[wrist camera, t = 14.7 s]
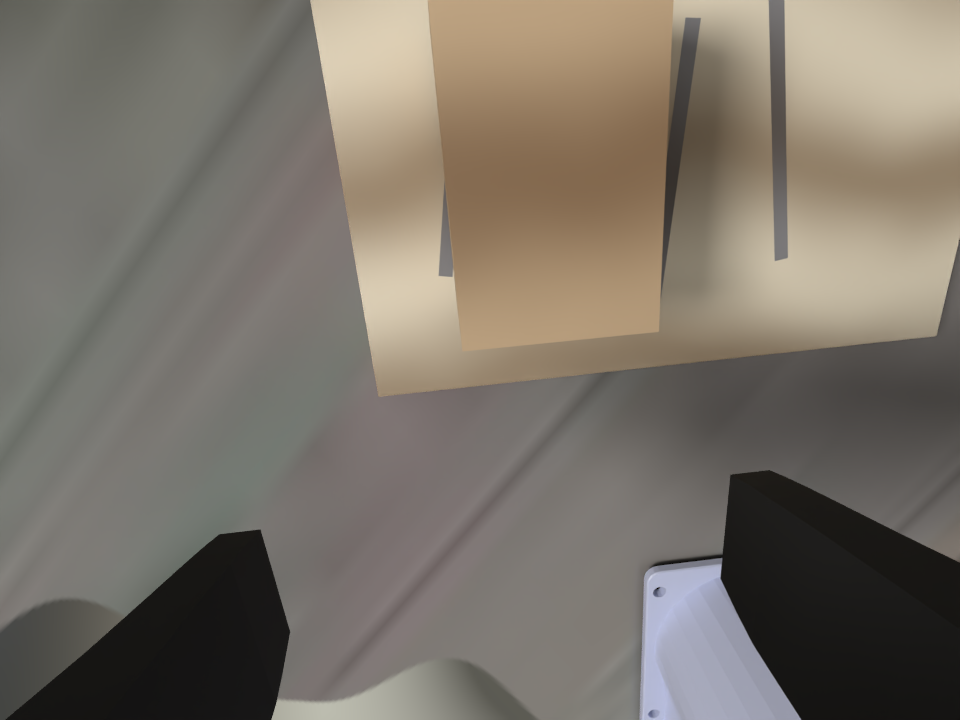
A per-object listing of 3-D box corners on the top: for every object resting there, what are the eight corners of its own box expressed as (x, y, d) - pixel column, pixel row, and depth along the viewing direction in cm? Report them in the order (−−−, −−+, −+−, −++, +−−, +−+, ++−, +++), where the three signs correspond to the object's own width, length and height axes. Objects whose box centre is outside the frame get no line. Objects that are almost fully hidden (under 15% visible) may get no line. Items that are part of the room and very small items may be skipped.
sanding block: (607, 290, 16) (658, 331, 12) (456, 304, 16) (462, 351, 12) (609, 17, 13) (675, -36, 10) (430, 31, 13) (425, -17, 9)
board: (906, 325, 18) (936, 336, 17) (382, 381, 18) (378, 396, 17) (999, -111, 14) (1048, -134, 13) (308, -57, 13) (297, -76, 12)
